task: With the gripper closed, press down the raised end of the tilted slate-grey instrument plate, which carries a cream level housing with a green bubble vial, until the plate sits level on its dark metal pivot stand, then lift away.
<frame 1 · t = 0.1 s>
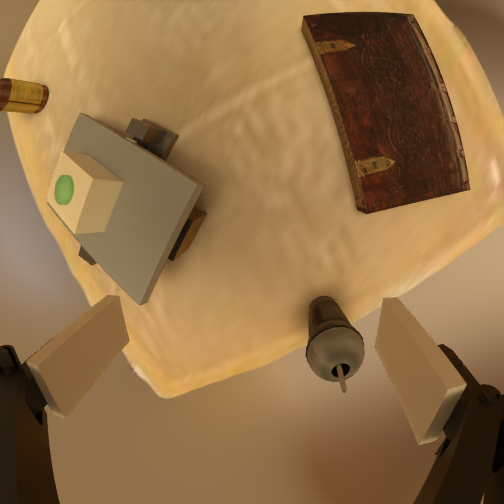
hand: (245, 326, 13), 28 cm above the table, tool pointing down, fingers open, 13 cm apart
beverage cup: (322, 308, 43), on the table
pivot stand: (131, 191, 40), on the table
hardback book: (387, 104, 34), on the table
sauce bottle: (40, 100, 37), on the table
instrument plate: (89, 194, 30), point 10 cm above the table, hinge at -16.0°
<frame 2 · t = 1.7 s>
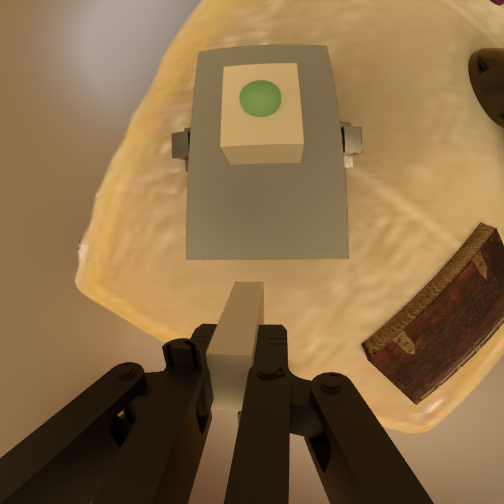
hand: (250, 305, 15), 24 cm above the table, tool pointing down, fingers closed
pivot stand: (268, 145, 35), on the table
hardback book: (447, 316, 40), on the table
instrument plate: (263, 125, 25), point 10 cm above the table, hinge at -16.0°
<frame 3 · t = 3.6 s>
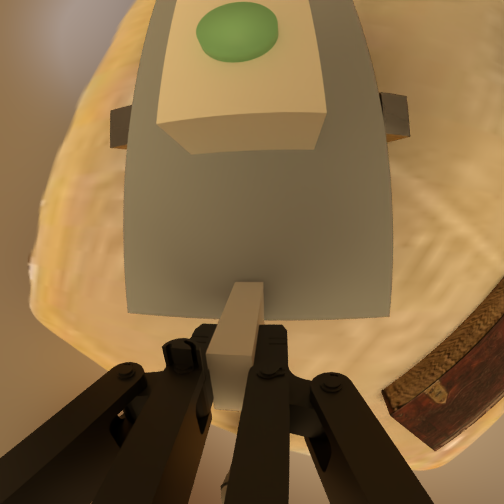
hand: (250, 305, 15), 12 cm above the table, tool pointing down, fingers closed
pivot stand: (260, 125, 23), on the table
hardback book: (482, 351, 28), on the table
instrument plate: (247, 83, 13), point 10 cm above the table, hinge at -12.5°, touching gripper
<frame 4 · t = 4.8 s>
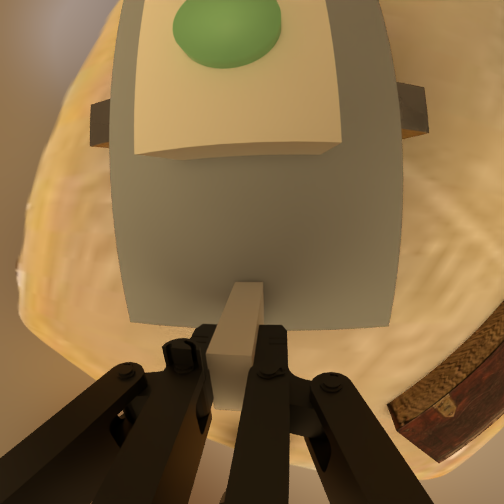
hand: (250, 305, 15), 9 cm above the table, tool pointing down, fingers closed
pivot stand: (259, 120, 21), on the table
hardback book: (491, 361, 25), on the table
instrument plate: (242, 78, 11), point 10 cm above the table, hinge at -0.5°, touching gripper
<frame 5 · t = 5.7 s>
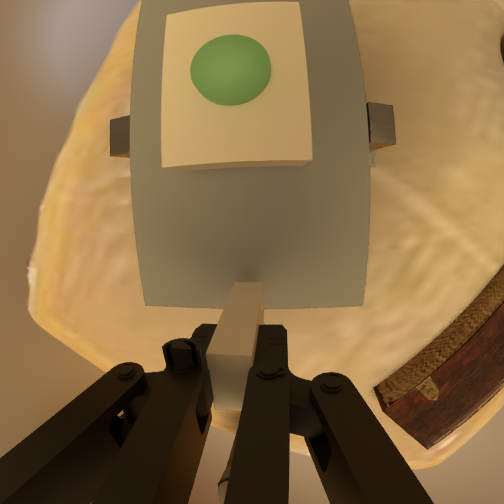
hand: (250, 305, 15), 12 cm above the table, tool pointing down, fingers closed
beverage cup: (257, 420, 33), on the table
pivot stand: (253, 134, 24), on the table
hardback book: (473, 350, 29), on the table
instrument plate: (240, 107, 14), point 10 cm above the table, hinge at -0.5°
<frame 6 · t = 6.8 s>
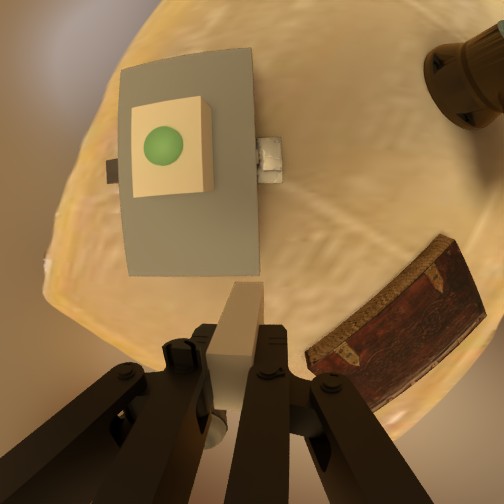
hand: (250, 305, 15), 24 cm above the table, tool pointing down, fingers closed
beverage cup: (215, 377, 46), on the table
pivot stand: (200, 164, 37), on the table
hardback book: (400, 328, 42), on the table
instrument plate: (176, 159, 27), point 10 cm above the table, hinge at -0.5°
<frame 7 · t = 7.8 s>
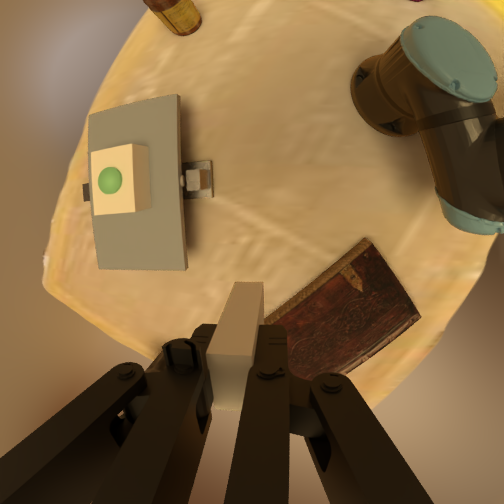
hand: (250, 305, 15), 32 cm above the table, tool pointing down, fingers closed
beverage cup: (173, 354, 56), on the table
pivot stand: (152, 183, 46), on the table
hardback book: (331, 322, 51), on the table
sauce bottle: (186, 25, 38), on the table
instrument plate: (123, 186, 37), point 10 cm above the table, hinge at -0.5°
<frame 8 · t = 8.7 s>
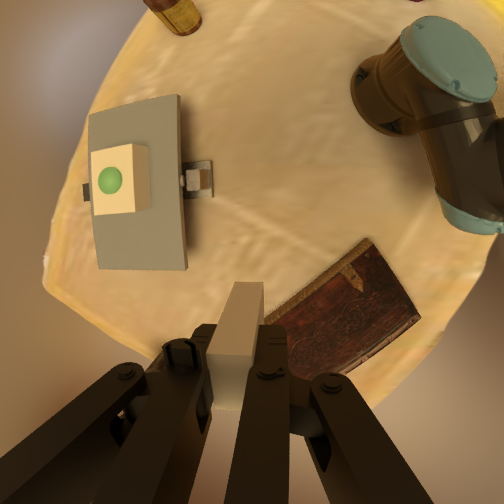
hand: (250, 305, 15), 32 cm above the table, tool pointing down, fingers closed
beverage cup: (173, 354, 56), on the table
pivot stand: (152, 183, 46), on the table
hardback book: (331, 322, 51), on the table
sauce bottle: (186, 25, 38), on the table
instrument plate: (123, 186, 37), point 10 cm above the table, hinge at -0.5°
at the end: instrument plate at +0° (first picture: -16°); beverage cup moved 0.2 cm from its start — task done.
